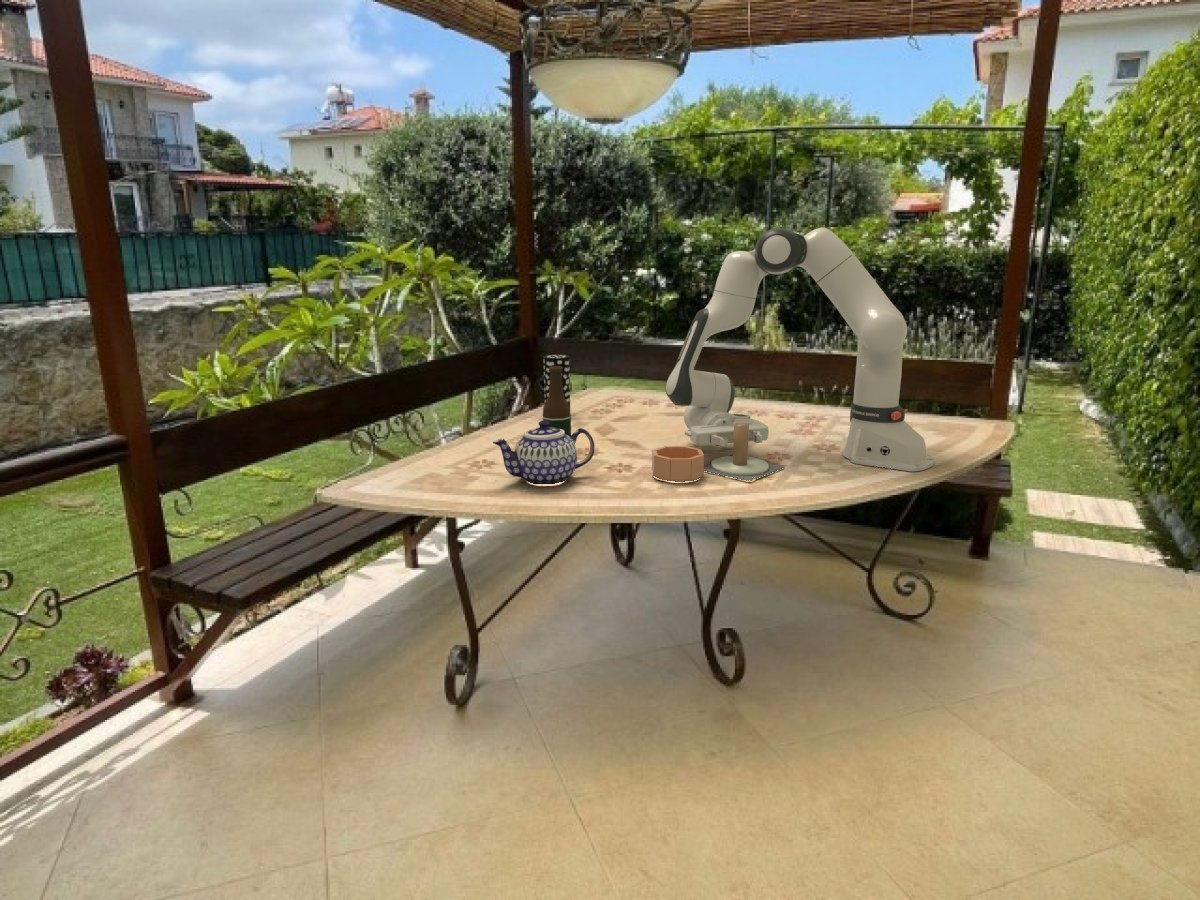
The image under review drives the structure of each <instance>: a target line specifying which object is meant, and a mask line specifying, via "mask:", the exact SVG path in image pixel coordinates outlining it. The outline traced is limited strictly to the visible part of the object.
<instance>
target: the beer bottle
mask: <svg viewBox="0 0 1200 900" xmlns="http://www.w3.org/2000/svg"><path fill="white" fill-rule="evenodd" d="M562 371H563V370H562V367H560V366H552V367H549V372H550V385H549V397H548V399H547V400H546V402H545V401H544V404H543V407H542V421H543V420H545V421H548V422H549V426H548V427H551V428H558V429H562V430H564V433H565V434H566V435H568V436H571V435H572V418H571V417H572V416H571V407H570V408H569V405H568V403H567V401H566V399H565V398H564V394H563V385H562V373H561V372H562Z"/></svg>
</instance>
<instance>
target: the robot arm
mask: <svg viewBox="0 0 1200 900" xmlns="http://www.w3.org/2000/svg"><path fill="white" fill-rule="evenodd" d="M794 267H800V268H802V269H804V270H805V271H807V273H808V274H809V275H810V276H811V278H812V279H813V280H814V281H815V283H816V284H817V285H818V286H819V288H820V289H821V290H822V291H823V293H824V294H825V295H826V296H827V298H828V299H829V300H830V301H831V303H832V304H833V306H834V307H835V308H836V309H837V311H838V313H839V314H840V315H841V317H842V318H843V320H845V321H844V322H846V323H847V325H848V326H849V328H850V329H851V330H852V332H853V334H854V335H855V336H856V338H858V340H857V341H858V342H857V353H856V366H855V378H854V389H853V401H852V402H851V404H850V412H849V423H850V425H849V430H848V435H847V439H846V443H845V445H844V448H843V451H842V456H843V457H844V458H847V459H848V460H850V462H851V463H852V464H856V465H861V466H862V465H863V466H871V467H876V466H877V468H883V467H885V468H884V469H890V468H891V470H896V471H904V472H920V471H924V470H928V469H929V468H931V467H933V466H934V465H935V458H934V457H933V456H930V455H927V446H926V441H925V438H924V437H923V436H922V435H921V434H919V432H917V431H916V429H914V428H913V427H912V426H911V425H909V423H908V422H907V421H905V417H906V414H907V413H908V408H905V409H904V408H903V407H902V406H900V404H899V402H900V391H901V383H902V382H901V381H902V375H903V374H902V367H903V353H904V342H905V340H906V338H907V334H908V325H907V321H906V320H905V317H904V315H903V314H902V313H901V311H900V310H899V309H898V308H896V306H895V305H894V303H892V301H891V300H890V299H889V298H888V296H887V295H886V293H885V291H883V290H882V289H881V287H880V286H879V284H878V283H877V281H876V280H875V279H874V277H873V276H872V275H871V274H870V272H868V270H867V269H866V268H865V266H864V265H863V264H862V263H861V261H860V260H859V259H858V257H857V256H856V255H855V254H854V252H853V251H852V250H851V249H850V248H849V247H848V245H847V244H846V243H845V242H844V241H843V240H842V239H841V238H840V237H839V236H838V235H837V234H836V233H834V232H833V231H832V230H830V229H829V228H827V227H819V228H815V229H813V230H810V231H809V232H808V233H807V234H805V235H802V234H800V233H797V232H794V231H791V230H789V229H786V228H781V227H778V228H777V227H775V228H771V229H768V230H767V231H765V232H763V233H762V234H761V235H760V237H759V238H758V239H757V242H756V244H755V248H754V249H753V250H750V251H745V250H736V251H733V252H730V253H729V254H728V255H726V257H725V259H724V260H723V263H722V265H721V267H720V271H719V273H718V276H717V279H716V283H715V286H714V291H713V295H712V297H711V298H710V300H709V302H708V303H707V305H706V306H705V307H704V308H702V309H700V310H698V311H697V313H696V315H695V316H694V318H693V320H692V323H691V325H690V326H689V329H688V331H687V334H686V337H685V340H684V342H683V344H682V347H681V350H680V352H679V355H678V357H677V360H676V362H675V364H674V365H673V366H674V367H673V368H672V370H671V371H670V373H669V376H668V378H667V380H666V383H665V394H666V396H667V398H668V399H669V400H670V402H672V404H674V406H678V407H679V406H680V407H686V408H685V410H684V412H683V421H684V424H685V426H686V427H687V430H684V435H685V436H687V437H689V440H690V441H691V442H692V443H693V444H694V445H695V446H699V447H704V446H716V447H727V446H728V444H733V442H734V424H736V423H746V424H749V437H748V443H751V442H753V443H757V444H760V443H763V441H768V438H769V433H770V432H769V426H768V425H767V424H766V423H763V422H761V421H759V420H758V419H755V418H754V419H753V418H751V415H749V414H739V413H730V411H731V409H732V407H733V405H734V401H735V396H736V388H735V386H734V383H733V381H732V379H731V378H730V377H729V375H727V374H723V373H719V372H718V373H717V372H712V371H711V372H709V371H702V370H698V369H697V370H696V369H695V366H696V364H697V361H698V359H699V356H700V354H701V351H702V349H703V346H704V344H705V342H706V340H707V339H709V338H710V337H711V336H712V335H715V334H718V333H721V332H724V331H729V330H733V329H737V328H738V327H740V326H742V325H744V324H745V323H746V322H747V321H748V320H749V319H750V317H751V316H752V313H753V311H754V307H755V304H756V298H757V297H758V296H757V294H758V292H759V288H760V285H761V282H762V280H763V279H764V277H767V276H777V275H778V276H779V275H783V274H786V273H788V272H790V271H791V270H793V269H794Z"/></svg>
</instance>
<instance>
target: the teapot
mask: <svg viewBox="0 0 1200 900" xmlns="http://www.w3.org/2000/svg"><path fill="white" fill-rule="evenodd" d="M538 426H539V427H534V428H530V429H527V430H526V431H524V435H523V436H522V437H521V438H520V439H519V440H517V443H516V445H515V448H514V451H513V450H512V448H511V446H510V445H509V443H508V442H507V440H506V439H504V438H497V439H496V440H494V441H492V444H494V445H496V446H499V448H500V451H501V455H502V459H503V464H504V467H505V470H506V471H507V473H508V474H509V475H510V476H512V477H516V478H520V479H523V481H525V482H526V481H528V482H530V483H533V484H555V483H559V482H563V481H565V480H566V479H567V480H568V479H569V478H570V477H571V476H572V475H573V474H574V472H575V470H577V469H580V467H583V466H585V465H586V464H587V463H589V462H590V461H591V459H593V456H594V454H595V441H594V439H593V436H592V435H591V433H590V432H589V431H588V430H586V429H585V428H582V427H581V428H577V429H576V430H575V431H574V432H573V433H571V436H568V435H566V434H565V433H564V430H562V429H558V428H551V427H548V426H549V422H548V421H545V420H543V419H542V420H540V421H539V422H538ZM580 434H584V435H585V436H586V437H587V439H588V441H589V452H588V454H587V455H586V457H584V458H583V459H582V460H580V461H578V453H577V452H578V451H577V447H576V443H577V439H578V437H579V435H580Z"/></svg>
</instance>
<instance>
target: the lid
mask: <svg viewBox="0 0 1200 900" xmlns="http://www.w3.org/2000/svg"><path fill="white" fill-rule="evenodd" d="M748 437H749V424H746V423H736V424H734V442H733V443H732V445H733V447H732V456H730V455H728V456H722V457H717V458H714V459H713V460H712V461H711V462H712V466H711V467H712V469H713V470H715V471H717V472H720V473H723V474H728V475H736V476H752V475H759V474H763V473H765V472H767V471H768V468H769V465H768V463H769V462H767V461H765V460H763V459H760V458H757V457H752V456H748V455H749V442H748Z"/></svg>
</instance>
